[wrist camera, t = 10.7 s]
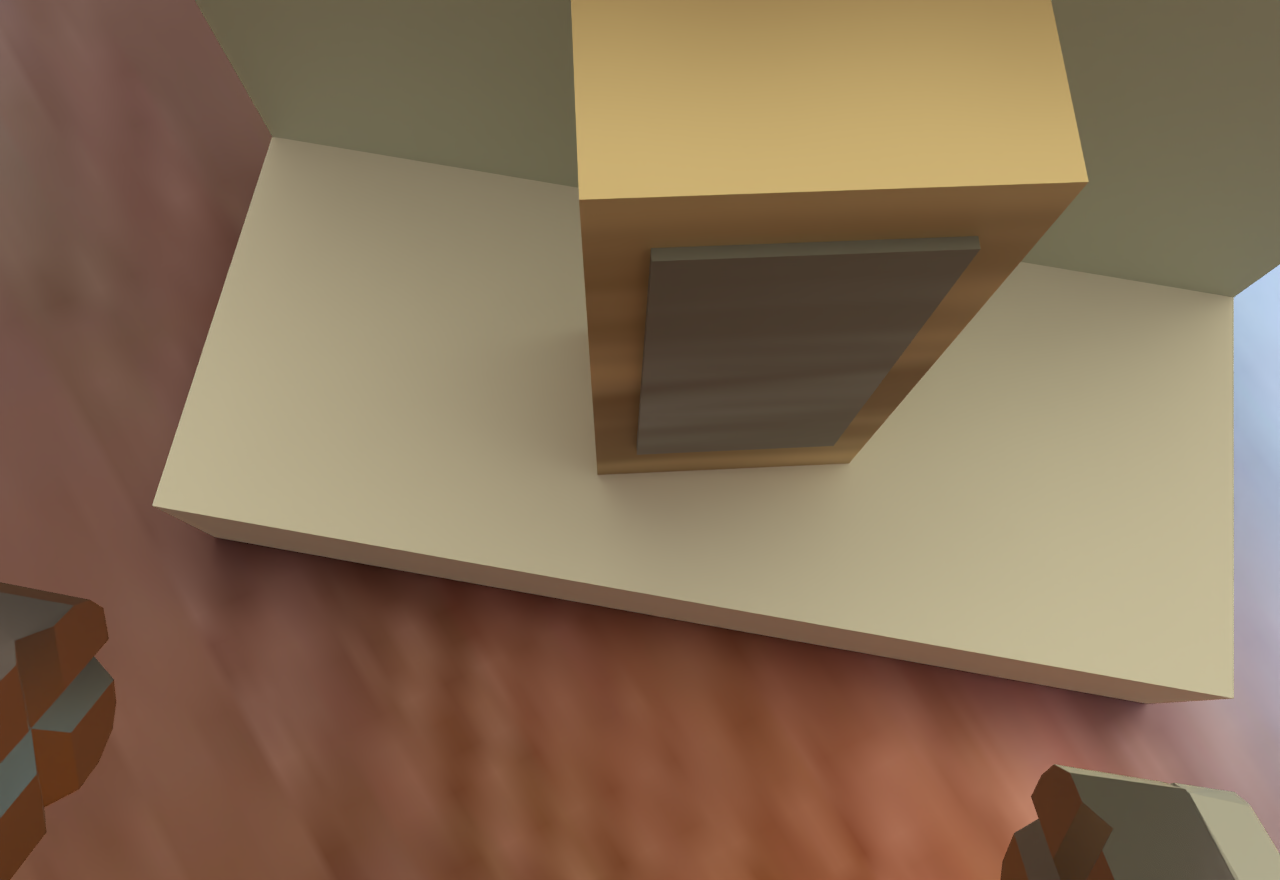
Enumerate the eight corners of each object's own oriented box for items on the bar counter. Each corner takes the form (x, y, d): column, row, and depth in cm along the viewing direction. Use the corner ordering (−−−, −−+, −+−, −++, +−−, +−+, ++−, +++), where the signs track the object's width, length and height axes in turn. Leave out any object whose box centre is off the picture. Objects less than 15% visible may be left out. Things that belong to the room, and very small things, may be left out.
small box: (850, 471, 19) (1090, 195, 9) (597, 482, 19) (580, 214, 9) (832, 318, 20) (1035, -76, 10) (590, 328, 20) (567, -64, 10)
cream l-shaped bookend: (1147, 703, 21) (2664, 605, 5) (214, 537, 21) (-822, 15, 6) (1157, 305, 23) (2192, -522, 8) (327, 166, 24) (-187, -857, 9)
